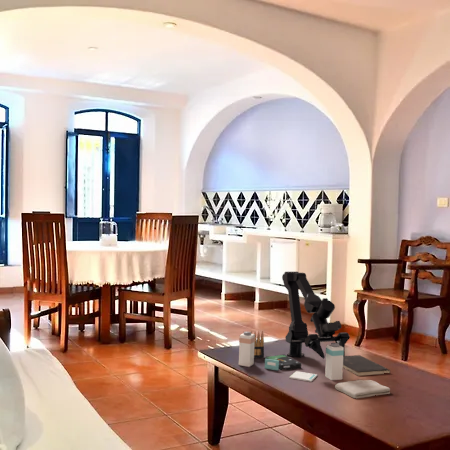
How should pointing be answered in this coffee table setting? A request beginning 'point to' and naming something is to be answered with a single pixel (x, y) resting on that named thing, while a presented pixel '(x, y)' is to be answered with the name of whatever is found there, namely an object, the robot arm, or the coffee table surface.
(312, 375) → the mat
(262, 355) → the ammunition clip
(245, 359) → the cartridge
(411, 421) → the coffee table surface
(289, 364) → the disk drive
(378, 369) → the hardcover book
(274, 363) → the teal cartridge with label
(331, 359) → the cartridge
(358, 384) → the washcloth
